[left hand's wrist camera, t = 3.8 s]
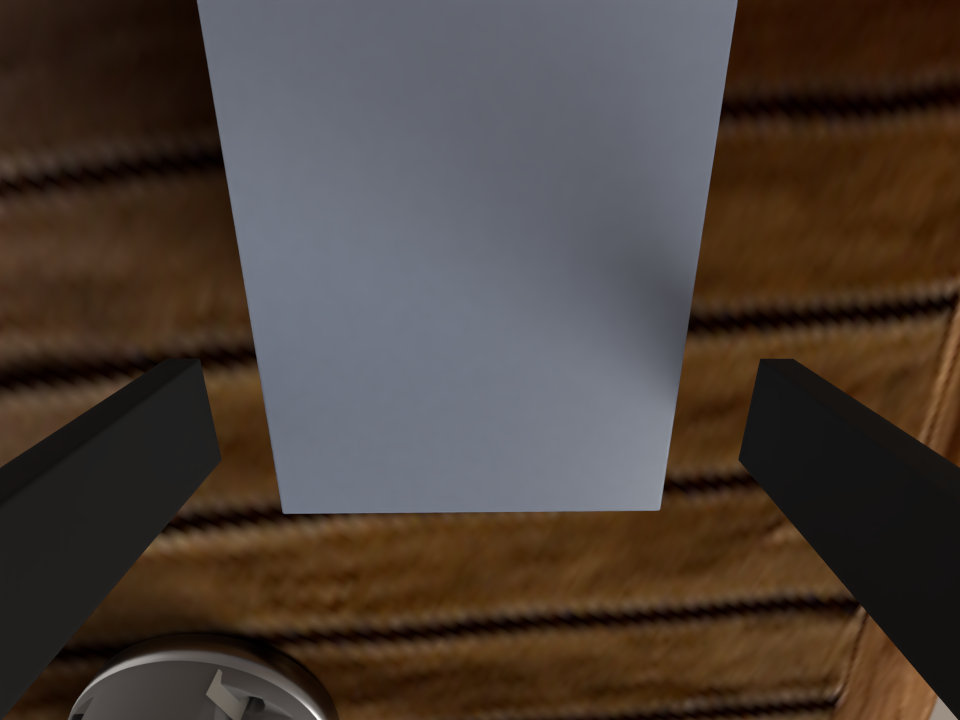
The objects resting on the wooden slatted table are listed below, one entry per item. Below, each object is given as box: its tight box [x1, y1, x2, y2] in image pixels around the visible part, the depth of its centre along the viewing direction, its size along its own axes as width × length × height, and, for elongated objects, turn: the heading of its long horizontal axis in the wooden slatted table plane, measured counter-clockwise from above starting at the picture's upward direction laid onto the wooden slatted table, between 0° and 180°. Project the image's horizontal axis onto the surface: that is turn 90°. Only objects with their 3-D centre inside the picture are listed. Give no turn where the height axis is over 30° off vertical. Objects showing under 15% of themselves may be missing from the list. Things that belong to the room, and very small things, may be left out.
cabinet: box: [197, 0, 737, 514], centre depth 16 cm, size 19×10×10 cm, turn 0°
